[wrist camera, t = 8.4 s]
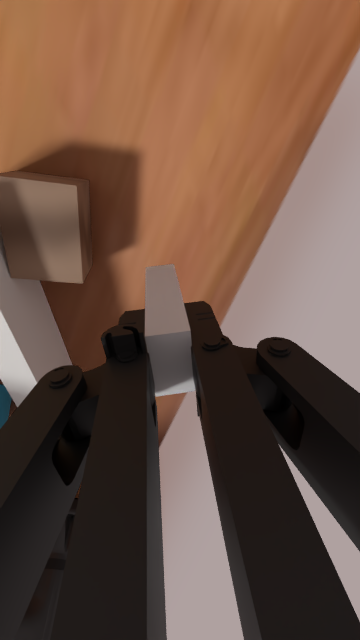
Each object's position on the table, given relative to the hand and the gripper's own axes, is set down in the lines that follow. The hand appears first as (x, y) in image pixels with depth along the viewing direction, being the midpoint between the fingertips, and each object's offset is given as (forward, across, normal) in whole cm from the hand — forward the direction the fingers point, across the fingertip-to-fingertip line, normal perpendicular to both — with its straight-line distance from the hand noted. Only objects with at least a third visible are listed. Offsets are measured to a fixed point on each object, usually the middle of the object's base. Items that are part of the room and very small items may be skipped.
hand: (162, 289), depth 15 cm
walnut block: (+15, +9, -2) cm, 17 cm away
